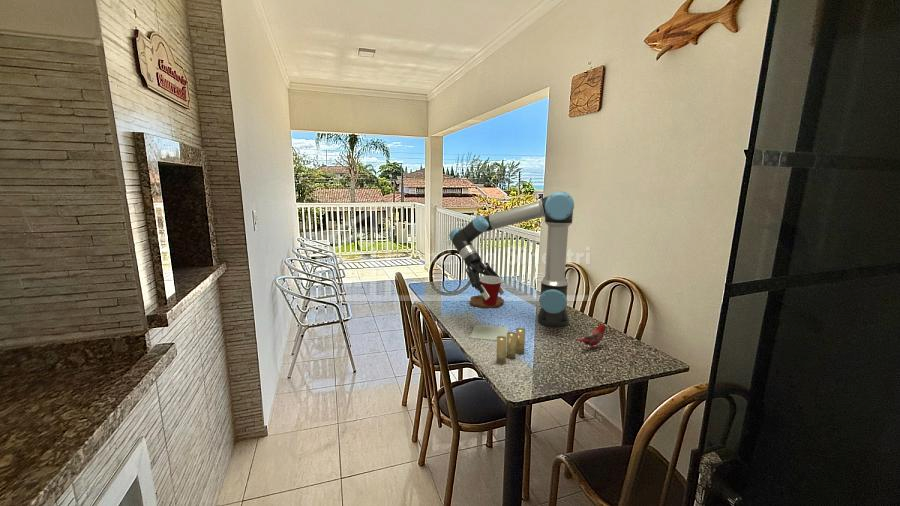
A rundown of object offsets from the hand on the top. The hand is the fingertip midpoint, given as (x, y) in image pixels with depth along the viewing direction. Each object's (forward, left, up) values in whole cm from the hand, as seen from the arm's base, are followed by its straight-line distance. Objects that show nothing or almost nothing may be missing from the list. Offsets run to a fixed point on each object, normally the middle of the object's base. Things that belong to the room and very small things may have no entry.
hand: (495, 295), depth 165 cm
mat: (+2, -2, -19) cm, 19 cm away
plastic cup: (+3, -2, -5) cm, 6 cm away
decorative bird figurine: (-41, +6, -19) cm, 45 cm away
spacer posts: (-9, +21, -19) cm, 29 cm away
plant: (+10, -46, -19) cm, 51 cm away
